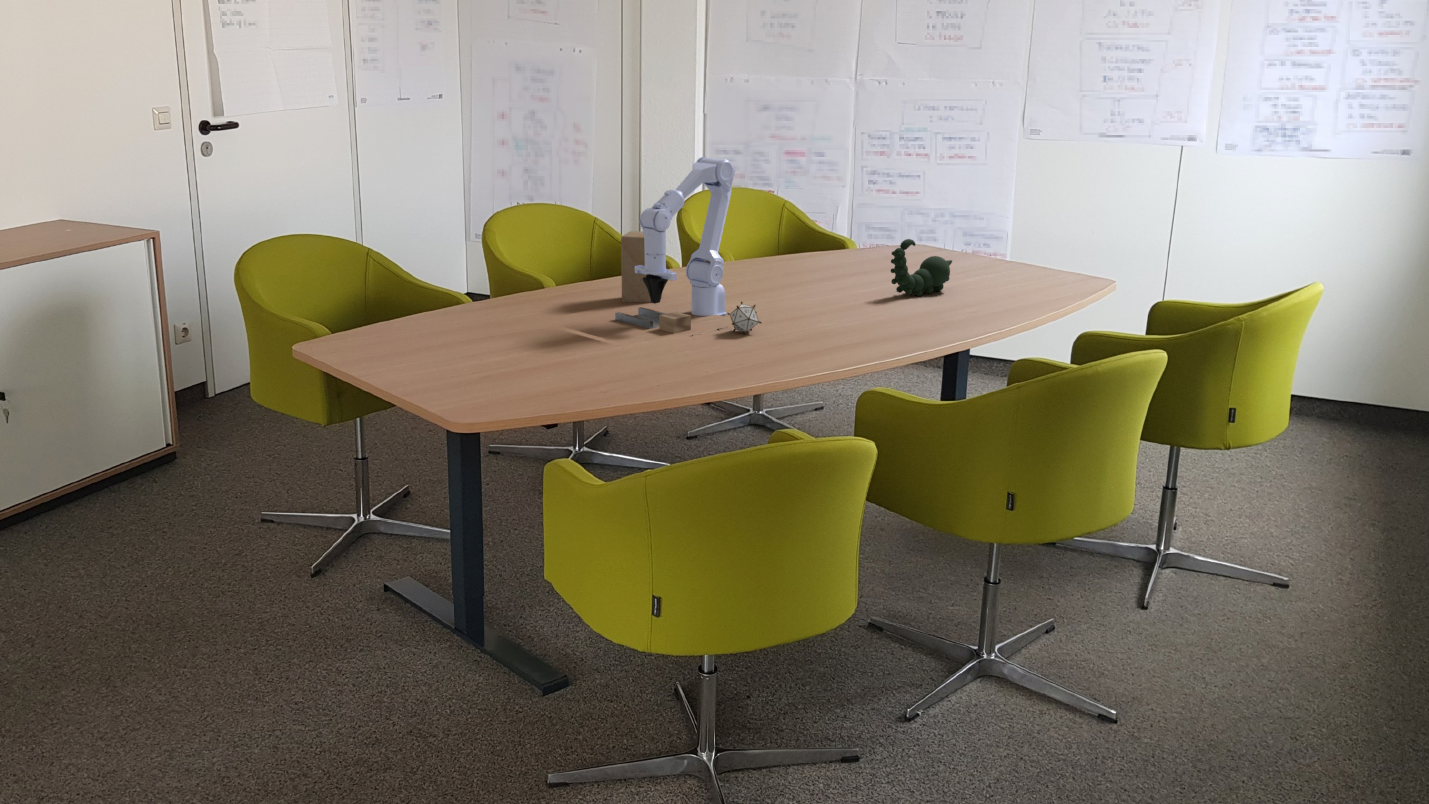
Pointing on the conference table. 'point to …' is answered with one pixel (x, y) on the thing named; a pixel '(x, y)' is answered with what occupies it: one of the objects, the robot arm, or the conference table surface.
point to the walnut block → (675, 322)
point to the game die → (744, 318)
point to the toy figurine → (919, 272)
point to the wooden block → (633, 268)
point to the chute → (641, 318)
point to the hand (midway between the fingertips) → (655, 302)
